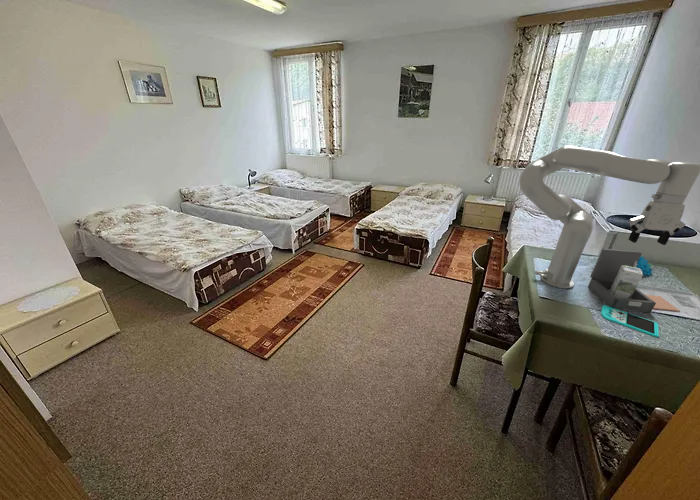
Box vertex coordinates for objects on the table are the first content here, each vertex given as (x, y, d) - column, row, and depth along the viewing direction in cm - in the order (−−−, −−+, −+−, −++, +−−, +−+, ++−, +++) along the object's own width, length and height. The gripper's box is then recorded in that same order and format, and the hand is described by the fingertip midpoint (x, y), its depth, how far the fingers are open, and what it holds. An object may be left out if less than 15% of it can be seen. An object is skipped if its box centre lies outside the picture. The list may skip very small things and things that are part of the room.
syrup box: (624, 297, 120) (640, 267, 114) (627, 304, 116) (643, 274, 109) (607, 293, 123) (621, 263, 117) (609, 300, 119) (624, 269, 112)
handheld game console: (602, 306, 115) (603, 303, 115) (656, 325, 105) (658, 322, 105) (599, 318, 109) (601, 315, 108) (657, 339, 99) (659, 336, 98)
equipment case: (611, 309, 113) (632, 268, 105) (586, 285, 129) (602, 248, 121) (651, 313, 111) (676, 272, 103) (621, 288, 127) (640, 251, 118)
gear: (644, 275, 134) (635, 255, 138) (629, 278, 140) (621, 259, 143) (658, 274, 138) (649, 255, 141) (643, 278, 143) (634, 259, 146)
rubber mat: (650, 308, 114) (651, 307, 113) (632, 294, 122) (633, 293, 122) (679, 311, 112) (680, 310, 112) (659, 297, 121) (660, 296, 121)
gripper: (649, 199, 99) (627, 244, 106) (707, 203, 96) (681, 248, 103) (633, 194, 105) (614, 236, 113) (688, 197, 103) (664, 240, 110)
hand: (646, 242), depth 108 cm, fingers open, 9 cm apart
